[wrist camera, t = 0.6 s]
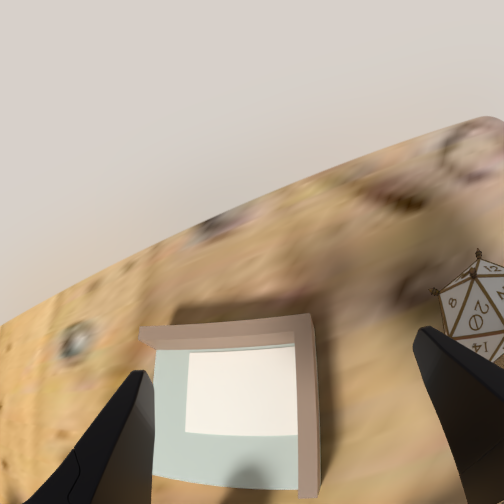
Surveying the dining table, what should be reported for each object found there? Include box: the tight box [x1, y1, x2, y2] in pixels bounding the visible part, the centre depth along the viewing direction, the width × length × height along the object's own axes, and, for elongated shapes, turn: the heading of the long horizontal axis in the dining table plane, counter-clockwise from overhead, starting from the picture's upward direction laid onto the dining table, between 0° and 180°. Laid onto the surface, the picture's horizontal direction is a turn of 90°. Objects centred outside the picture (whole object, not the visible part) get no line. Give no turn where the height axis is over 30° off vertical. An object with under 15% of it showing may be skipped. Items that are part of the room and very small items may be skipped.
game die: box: [429, 248, 504, 363], centre depth 16 cm, size 9×8×10 cm
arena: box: [138, 313, 321, 499], centre depth 20 cm, size 13×14×4 cm
